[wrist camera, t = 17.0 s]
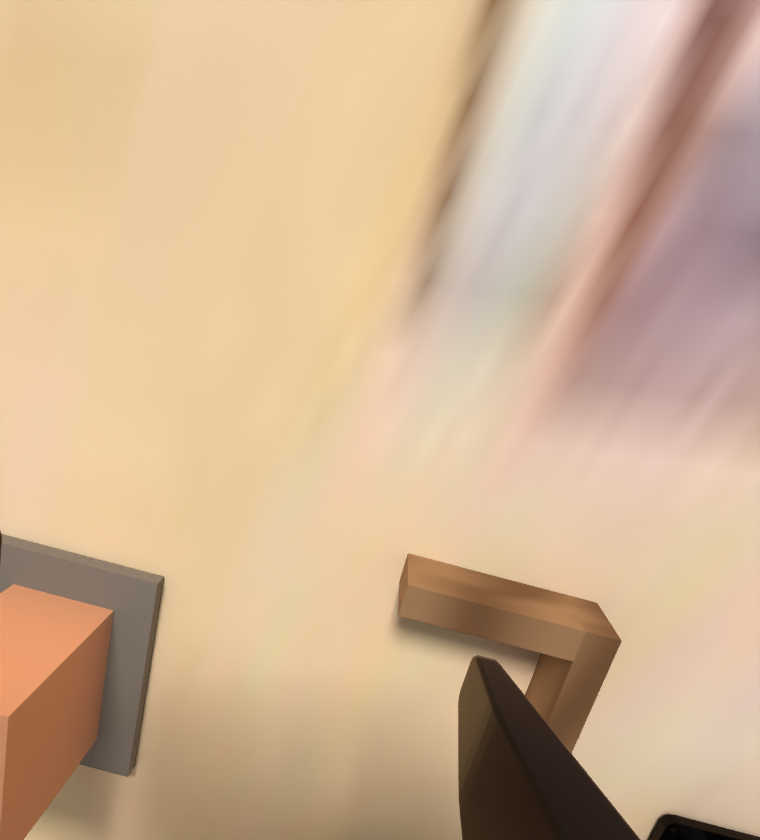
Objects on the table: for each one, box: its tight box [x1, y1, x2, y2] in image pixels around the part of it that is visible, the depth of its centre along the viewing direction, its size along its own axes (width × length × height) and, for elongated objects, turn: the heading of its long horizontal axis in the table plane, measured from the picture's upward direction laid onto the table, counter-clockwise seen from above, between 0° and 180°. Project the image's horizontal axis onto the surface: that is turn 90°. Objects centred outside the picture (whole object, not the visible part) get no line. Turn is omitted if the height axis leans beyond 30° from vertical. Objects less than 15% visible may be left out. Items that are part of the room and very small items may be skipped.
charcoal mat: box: [0, 535, 164, 777], centre depth 23 cm, size 9×12×1 cm
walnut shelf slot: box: [399, 554, 621, 753], centre depth 22 cm, size 9×21×2 cm, turn 166°
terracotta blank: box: [0, 584, 114, 840], centre depth 20 cm, size 8×5×6 cm, turn 165°
